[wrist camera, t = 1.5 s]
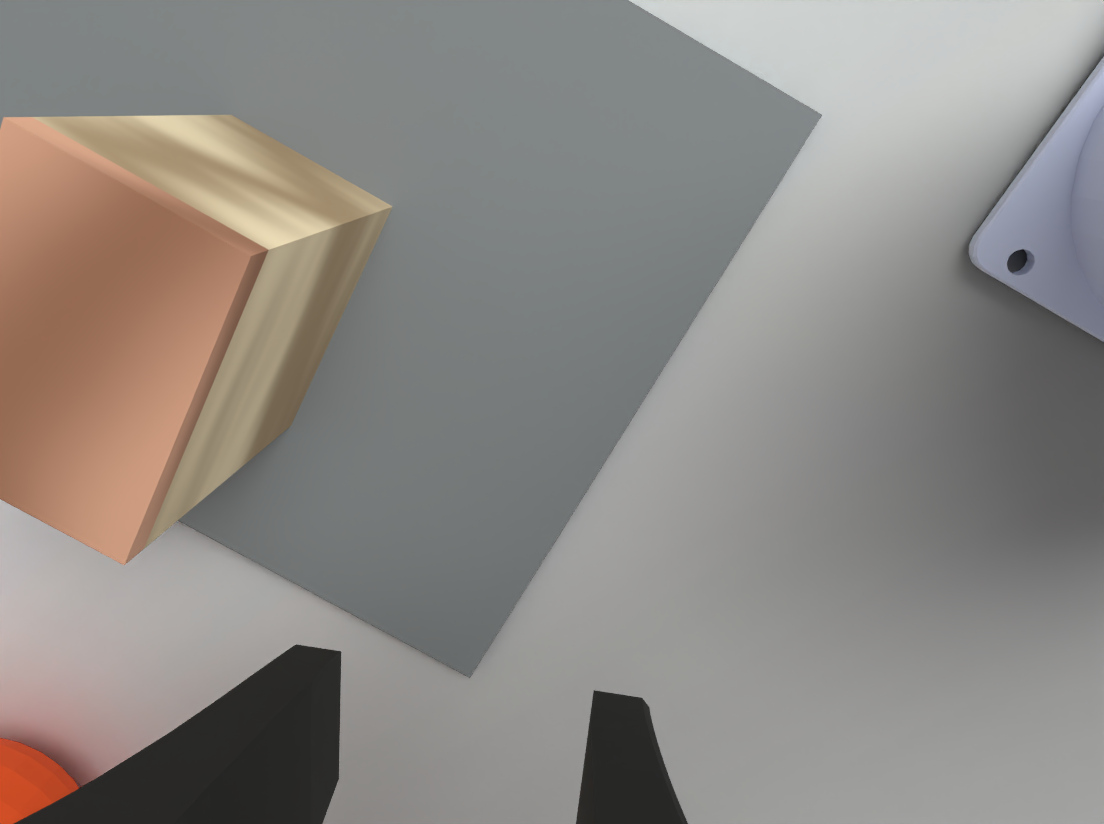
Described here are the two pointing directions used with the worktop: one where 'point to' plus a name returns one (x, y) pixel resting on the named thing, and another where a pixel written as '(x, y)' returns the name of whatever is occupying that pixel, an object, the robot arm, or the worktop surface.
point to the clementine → (29, 781)
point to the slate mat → (450, 259)
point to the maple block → (159, 310)
